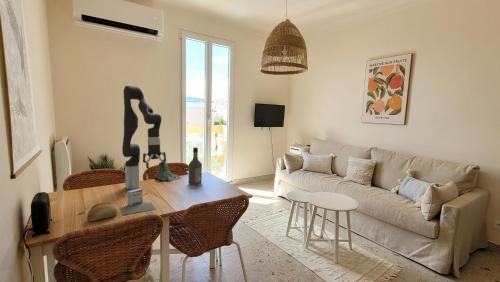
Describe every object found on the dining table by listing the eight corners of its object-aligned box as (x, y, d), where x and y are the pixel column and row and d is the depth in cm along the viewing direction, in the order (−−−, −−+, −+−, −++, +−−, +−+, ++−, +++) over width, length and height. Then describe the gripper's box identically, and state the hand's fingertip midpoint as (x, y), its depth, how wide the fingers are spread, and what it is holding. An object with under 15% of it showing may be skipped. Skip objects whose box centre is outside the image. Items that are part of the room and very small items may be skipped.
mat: (119, 207, 150) (119, 207, 150) (151, 202, 161) (151, 202, 161) (122, 215, 141) (122, 214, 141) (155, 209, 151) (155, 208, 151)
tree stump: (178, 182, 208) (173, 161, 204) (154, 187, 206) (148, 167, 202) (181, 175, 226) (176, 156, 222) (159, 180, 224) (154, 161, 220)
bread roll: (83, 219, 134) (83, 205, 133) (113, 211, 146) (113, 198, 144) (90, 225, 128) (89, 210, 127) (120, 216, 139) (120, 203, 138)
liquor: (202, 183, 206) (203, 147, 202) (197, 186, 198) (197, 149, 194) (192, 181, 209) (193, 146, 205) (187, 184, 200) (187, 148, 196)
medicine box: (131, 206, 153) (131, 192, 152) (127, 204, 155) (126, 191, 155) (142, 202, 160) (142, 189, 159) (138, 201, 162) (138, 188, 161)
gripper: (165, 143, 169) (166, 166, 170) (142, 143, 164) (143, 168, 165) (165, 143, 162) (166, 168, 163) (141, 144, 157) (143, 170, 158)
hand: (155, 168), depth 164 cm, fingers open, 8 cm apart
